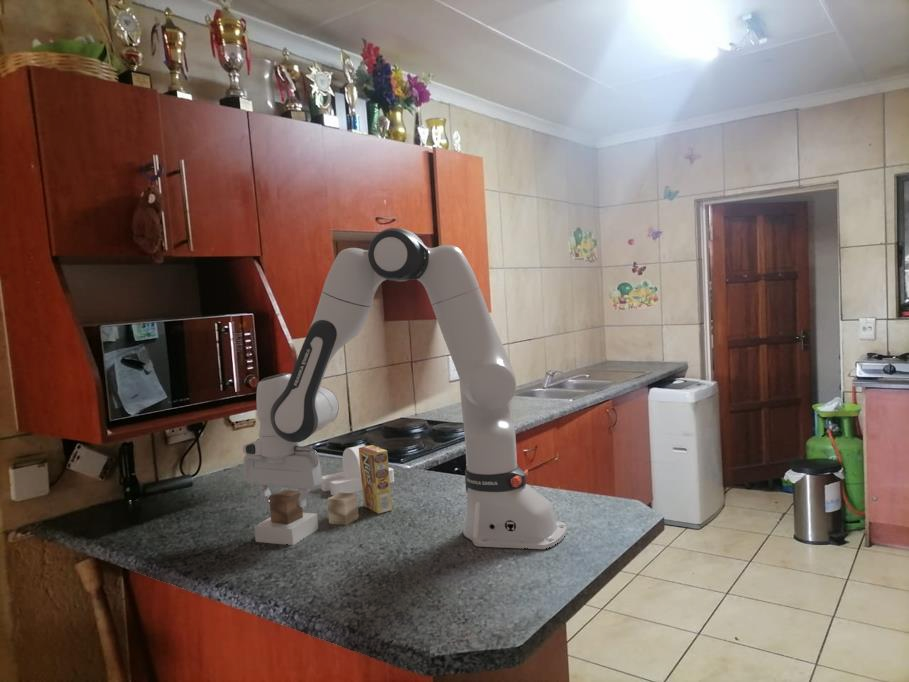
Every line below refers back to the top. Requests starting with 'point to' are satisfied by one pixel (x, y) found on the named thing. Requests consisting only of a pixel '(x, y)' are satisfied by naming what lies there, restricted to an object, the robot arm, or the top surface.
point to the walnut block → (285, 507)
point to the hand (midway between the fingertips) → (285, 504)
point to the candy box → (375, 478)
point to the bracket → (347, 474)
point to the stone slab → (286, 530)
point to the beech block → (342, 508)
